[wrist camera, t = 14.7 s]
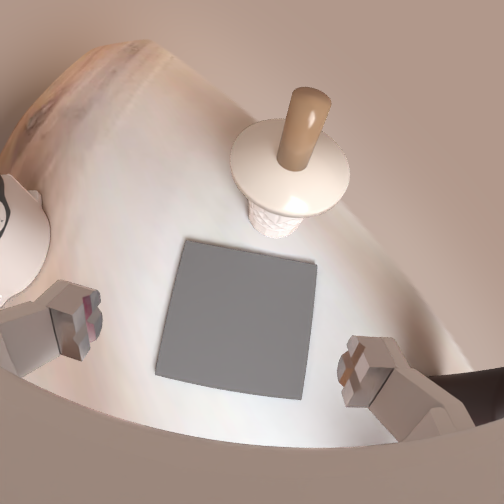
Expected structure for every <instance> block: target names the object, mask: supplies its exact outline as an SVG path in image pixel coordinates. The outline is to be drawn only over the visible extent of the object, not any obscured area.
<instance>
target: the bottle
mask: <svg viewBox="0 0 504 504" xmlns="http://www.w3.org/2000/svg"><path fill="white" fill-rule="evenodd" d="M427 378H429V379H430V380H431V381H433V382H434V383H436V384H437V385H438V386H440V387H441V388H443V389H444V390H445V391H447V392H448V393H449V394H451V395H452V396H454V397H455V398H456V399H458V400H459V401H461V402H462V403H463V404H464V406H465V408H466V410H467V412H468V413H469V415H470V417H471V419H472V421H473V423H474V425H475V426H480V425H483V424H487V423H490V422H493V421H496V420H499V419H502V418H504V367H501V368H495V369H489V370H482V371H476V372H468V373H460V374H451V375H441V376H429V377H427Z"/></svg>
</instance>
